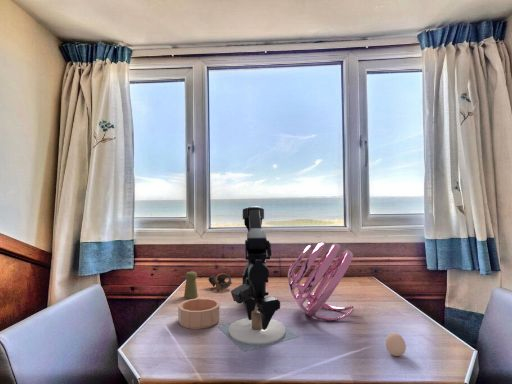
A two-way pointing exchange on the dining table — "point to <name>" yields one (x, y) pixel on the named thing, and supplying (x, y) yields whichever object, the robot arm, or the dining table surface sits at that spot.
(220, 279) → the pottery mug
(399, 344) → the egg
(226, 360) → the dining table surface
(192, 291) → the green tapered peg
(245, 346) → the rubber mat
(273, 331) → the ceramic lid
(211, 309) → the terracotta bowl
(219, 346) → the dining table surface
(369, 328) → the dining table surface
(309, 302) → the spiral basket
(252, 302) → the robot arm
